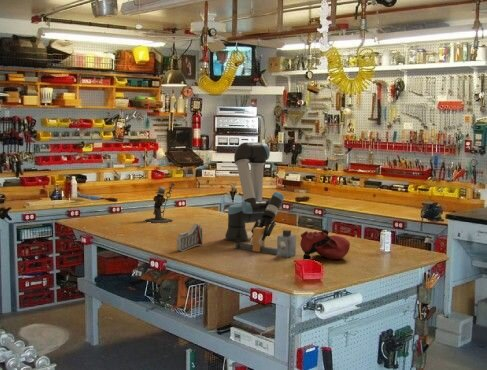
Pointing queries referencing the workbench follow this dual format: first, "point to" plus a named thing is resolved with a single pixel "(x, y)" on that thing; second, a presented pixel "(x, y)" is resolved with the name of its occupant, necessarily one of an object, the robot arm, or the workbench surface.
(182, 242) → the decorative sign
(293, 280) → the workbench surface
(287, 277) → the workbench surface
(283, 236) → the cabinet
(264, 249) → the guide rail
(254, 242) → the carriage
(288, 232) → the button
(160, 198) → the figurine
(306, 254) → the red backpack
